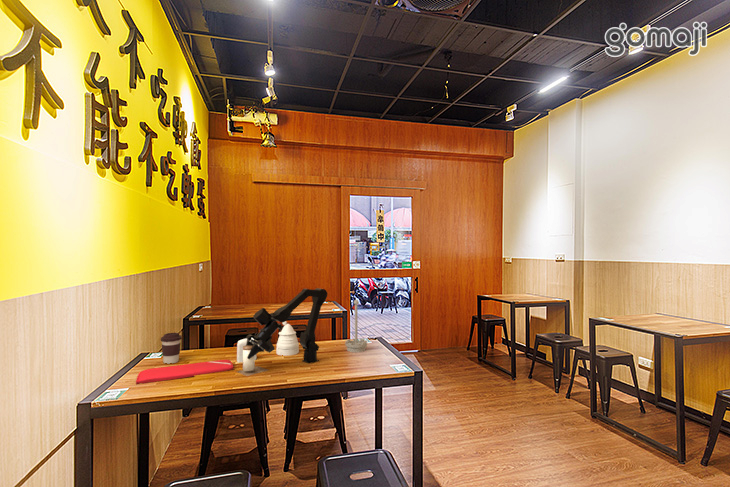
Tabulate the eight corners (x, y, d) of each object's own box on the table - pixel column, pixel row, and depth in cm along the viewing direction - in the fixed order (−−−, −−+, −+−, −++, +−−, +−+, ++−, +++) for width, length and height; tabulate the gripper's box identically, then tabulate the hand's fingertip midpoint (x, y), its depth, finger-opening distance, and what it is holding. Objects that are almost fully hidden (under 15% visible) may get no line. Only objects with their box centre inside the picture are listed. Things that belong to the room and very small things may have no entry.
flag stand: (371, 350, 223) (371, 300, 224) (351, 353, 216) (351, 301, 217) (360, 346, 234) (360, 298, 235) (341, 348, 227) (341, 299, 228)
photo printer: (255, 359, 205) (255, 336, 205) (257, 361, 201) (257, 338, 202) (235, 362, 199) (236, 339, 199) (238, 364, 196) (238, 340, 196)
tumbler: (250, 366, 184) (250, 344, 185) (256, 369, 181) (256, 346, 181) (240, 369, 180) (240, 346, 180) (246, 371, 177) (246, 348, 177)
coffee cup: (156, 363, 197) (156, 334, 197) (172, 358, 206) (172, 331, 207) (169, 365, 193) (170, 336, 194) (185, 360, 202) (185, 332, 203)
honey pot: (274, 355, 212) (274, 323, 213) (279, 349, 225) (279, 319, 226) (296, 355, 213) (296, 323, 213) (300, 349, 225) (300, 319, 226)
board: (257, 367, 190) (257, 366, 190) (269, 371, 183) (269, 370, 183) (235, 373, 181) (235, 371, 181) (247, 377, 174) (247, 376, 174)
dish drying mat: (139, 375, 179) (140, 367, 179) (230, 364, 197) (230, 357, 197) (135, 385, 165) (135, 377, 165) (233, 373, 183) (233, 365, 183)
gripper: (286, 344, 183) (264, 371, 176) (270, 337, 197) (250, 362, 190) (271, 330, 178) (248, 357, 171) (256, 324, 193) (234, 349, 186)
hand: (245, 357), depth 180 cm, fingers closed on tumbler, 5 cm apart
